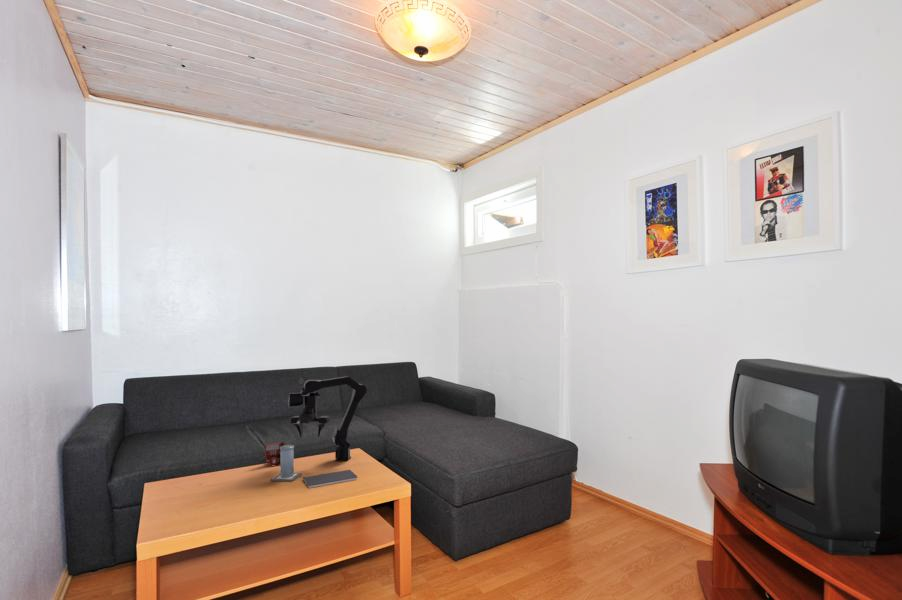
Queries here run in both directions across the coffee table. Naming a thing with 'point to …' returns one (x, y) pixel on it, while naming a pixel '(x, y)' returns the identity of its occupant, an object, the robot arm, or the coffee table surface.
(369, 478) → the coffee table surface
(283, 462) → the vase
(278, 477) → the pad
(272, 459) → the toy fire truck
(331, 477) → the notebook
